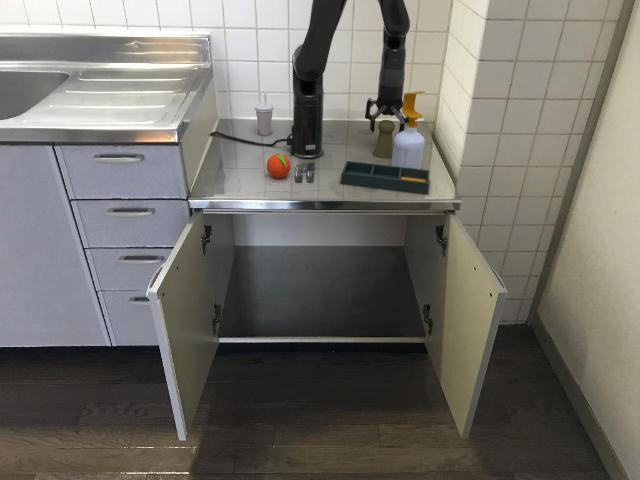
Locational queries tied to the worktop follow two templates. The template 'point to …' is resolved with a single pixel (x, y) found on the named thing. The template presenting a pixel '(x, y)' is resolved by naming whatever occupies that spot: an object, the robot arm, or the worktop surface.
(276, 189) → the worktop surface
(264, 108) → the smoothie
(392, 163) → the soap bottle
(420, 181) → the tray
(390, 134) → the cork
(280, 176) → the clementine
